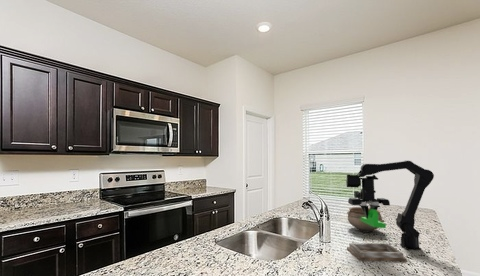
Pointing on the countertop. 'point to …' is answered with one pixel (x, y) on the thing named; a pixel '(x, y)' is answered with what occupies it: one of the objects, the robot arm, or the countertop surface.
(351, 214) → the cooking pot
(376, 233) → the countertop surface
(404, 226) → the robot arm
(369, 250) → the keyed nest
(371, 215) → the mechanical part
